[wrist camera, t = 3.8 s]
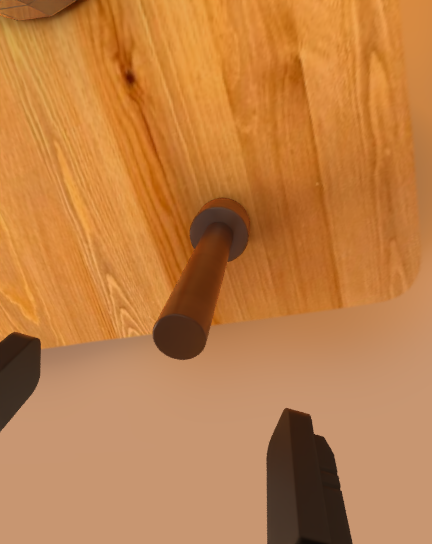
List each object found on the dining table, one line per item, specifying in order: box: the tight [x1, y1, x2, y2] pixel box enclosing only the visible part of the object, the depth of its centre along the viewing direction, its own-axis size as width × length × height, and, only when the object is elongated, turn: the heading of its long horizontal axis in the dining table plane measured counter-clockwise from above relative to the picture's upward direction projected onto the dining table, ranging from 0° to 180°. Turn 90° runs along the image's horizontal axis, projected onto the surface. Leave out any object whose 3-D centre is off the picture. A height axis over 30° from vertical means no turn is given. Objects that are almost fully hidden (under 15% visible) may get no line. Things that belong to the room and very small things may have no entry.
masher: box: [153, 198, 250, 360], centre depth 21 cm, size 4×4×16 cm
